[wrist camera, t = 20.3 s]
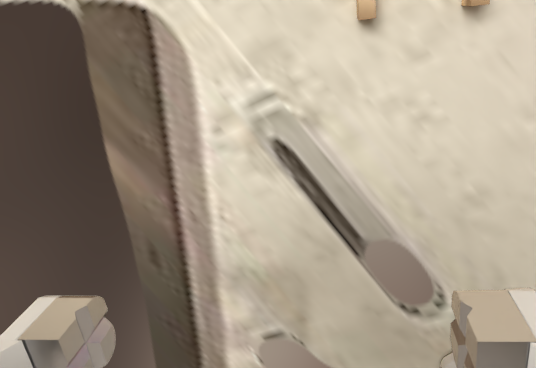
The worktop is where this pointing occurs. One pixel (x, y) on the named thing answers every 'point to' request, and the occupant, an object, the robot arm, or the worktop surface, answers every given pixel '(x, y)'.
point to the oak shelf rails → (368, 8)
